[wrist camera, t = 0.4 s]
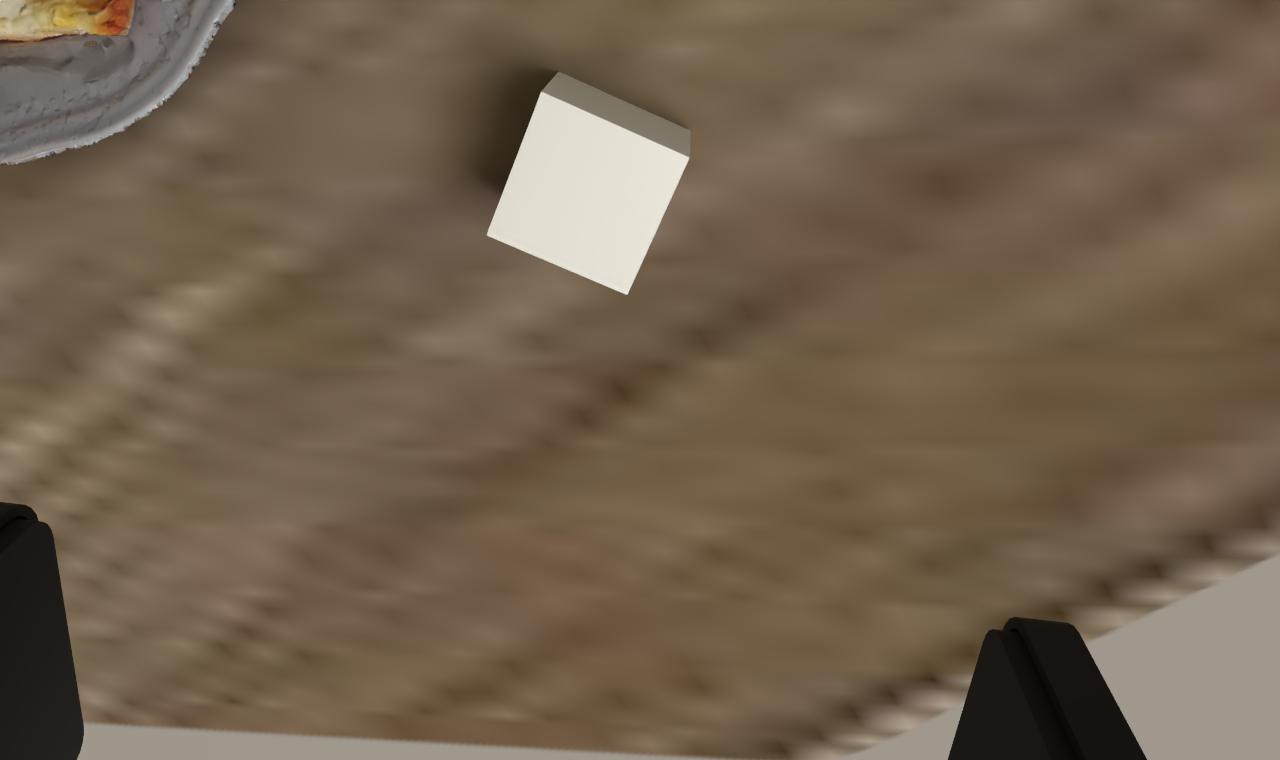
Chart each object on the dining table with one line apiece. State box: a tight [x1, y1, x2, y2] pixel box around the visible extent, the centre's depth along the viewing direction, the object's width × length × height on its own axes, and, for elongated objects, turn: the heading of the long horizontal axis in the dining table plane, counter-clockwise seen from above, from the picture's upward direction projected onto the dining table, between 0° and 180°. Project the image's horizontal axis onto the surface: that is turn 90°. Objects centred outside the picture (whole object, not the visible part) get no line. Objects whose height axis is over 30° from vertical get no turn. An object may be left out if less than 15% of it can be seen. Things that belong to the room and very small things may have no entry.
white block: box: [487, 72, 690, 295], centre depth 35 cm, size 5×5×4 cm
